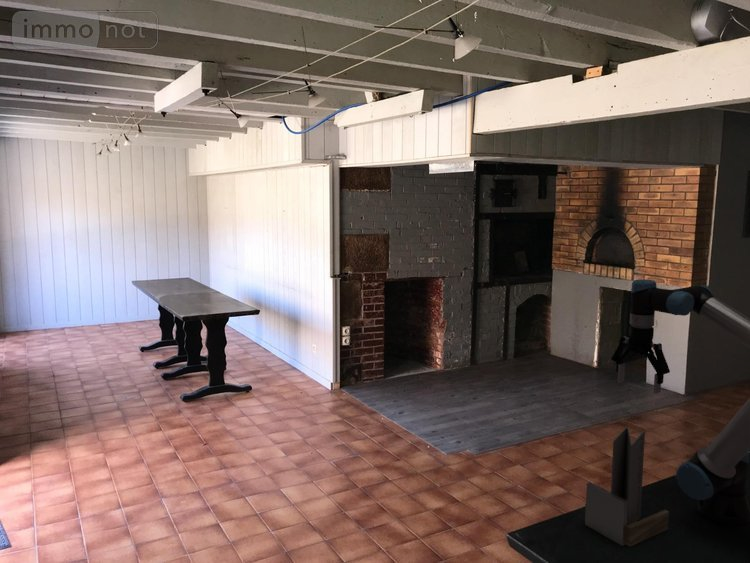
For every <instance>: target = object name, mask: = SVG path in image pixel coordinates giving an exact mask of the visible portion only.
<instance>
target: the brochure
mask: <svg viewBox="0 0 750 563" xmlns="http://www.w3.org/2000/svg"><path fill="white" fill-rule="evenodd" d="M645 436H646V429H643V430H642V432H641V433H640V434H639V435H638V436H637V438H636V439H635V440H634V441H633V442H632V437H631V434H630V429H629V426H628V425H627V426H625V428H624V429H622V431H621V432H620V433H619V434H618V435H617V436H616V437H615V438H614V440H613V442H612V460H611V461H612V464H611V484H610V486H611V487H610V492H611V493H613V494H615V495H617V496H619V497H621V498H623V499H625V500H627V501H628V509H627V526H628V525H630V524H633V523H635V522H637V521H638V520H641V512H642V511H641V509H642V494H643V493H642V491H643V478H644V477H643V476H644V475H643V472H644V460H645V459H644V458H645V457H644V456H645V441H646V440H645V438H646V437H645Z"/></svg>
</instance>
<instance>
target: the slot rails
mask: <svg viewBox="0 0 750 563" xmlns="http://www.w3.org/2000/svg"><path fill="white" fill-rule="evenodd" d="M584 506H585V507H584V508H585V509H584V517H585V516H586V503H585V505H584ZM669 516H670V512H669V511H668V510H667V509H663V510H661V511H658V512H656V513H654V514H651V515H649V516H647V517H644V518H642V519H639V521H637V522H635V523H633V524H630V525H628V526H627V528H626V545H625V546H626V547H627V546H628V547H629V548H631V547H633V546H635V545H638V544H640V543H641V542H644V541H646V540H649V539H650V538H652V537H653V538H654V537H655V536H657V535H659V534H662V533H664V532H666V531H668V529H669V518H670V517H669Z"/></svg>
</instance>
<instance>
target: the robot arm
mask: <svg viewBox="0 0 750 563" xmlns="http://www.w3.org/2000/svg"><path fill="white" fill-rule="evenodd" d="M630 289H631V290H630V311H629V327H628V328H629V330H628V335H624V336H621V337H620V342H619V344H618V346H617V348H616V349H615V351H614V353H613V355H612V357H611V358H610V359H611V361H613V362H615V363H616V366H615V367H616V368H615V369H616V371H615V372H616V373H617V383H618V384H621V383H624V382H625V373H626V363H625V361H626V360H627V359H628V358H629V357H630V356H631V355H632V354H633V353H635V354H640V355H644V356H645V357H646V358H647V360H648V361H649V362H650V365H651V366H652V367H653V369H654V371H655V373H654V377H653V394H659V393H661V392H662V391H661V388H662V384H663V383H664V375H666V374H669V373H671V369H670V368H669V365H668V361H667V360H666V357H665V354H664V351H663V345H662V343H660V342H659V343H654V342H653V339H654V334H655V333H654V332H655V328H654V326H655V316H656V315H655V313H656V312H660V313H663V314H670V315H674V316H682V317H683V316H687V315H690V313H691V312H694V313H695V314H697V315H698V316H700V317H702V318H704V319H705V320H706V321H708V322H710V323H711V324H713V325H714V326H716V327H717V328H718V329H719V330H720V329H721V331H723V332H725V333H726V334H728V335H729V336H731V337H732V338H733V339H735V340H737V341H738V342H740V343H741V344H743V345H744V346H746V347H747V348H749V349H750V317H749V316H746V315H745V314H743V313H742V312H740V311H739V310H737V309H735V308H733V307H732V306H730V305H729V304H728V303H726V302H724V301H722V300H721V299H719V298H717V297H716V296H715V294H714V292H713V291H712V289H711V288H710V287H708V286H707V285H702V284H700V285H699V284H696V285H691V286H686V287H681V288H675V289H667V288H661V287H660V288H659V287H657V282H656V281H655V280H652V279H642V278H641V279H635V280H633V281H632V282H631V288H630ZM627 344H629V347H628V348H626V347H627ZM625 348H626V350H625ZM624 350H625V351H624ZM749 452H750V397H749V398H748V399H747V401H746V402H745V403H744V404H743V405H742V406H741V408H740V409H738V411H737V412H736V414H735V415H734V416H733V417H732V418H731V419H730V420H729V421H728V423H726V425H725V426H724V427H723V429H722V430H721V431H720V432H719V434H717V436H716V437H715V438H714V439H713V440H712V442H710V443H708V445H705V446H701V447H699V448H698V449H697V450H696V451H695V453H694V454H693V455H692V456H691V458H689V459H688V460H687V461H684V462H682V463H681V464H680V465H678V467H677V468H676V471H675V477H676V479H677V484H678V486H679V487H680V489H681V491H683V492H684V493H685V494H686V495H687V496H688V497H689V498H691V499H694V500H697V501H698V502H697V510H698V511H699V513H700V514H701V515H702V516H704V517H705V518H707V519H709V520H711V521H713V522H716V523H719V524H722V525H723V524H724V525H728V526H729V525H730V526H744V525H747V524H749V523H750V504H749V500H748V497H747V491H748V490H747V489H748V481H749V480H748V479H749V470H750V469H749V468H750V454H749Z"/></svg>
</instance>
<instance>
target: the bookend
mask: <svg viewBox="0 0 750 563" xmlns="http://www.w3.org/2000/svg"><path fill="white" fill-rule="evenodd" d="M585 491H586V492H585V493H586V495H585V496H586V497H585V504H586V516H585V515H584V525H585V526H587V527H589V528H590V529H592V530H593V531H595V532H597V533H599V534H601V535H603V536H604V537H606V538H608V539H609V540H611V541H613V542H615V543H616V544H617V545H620V546H621V547H623V546H627V545H626V528H627V509H628V501H627V500H625V499H623V498H621V497H619V496H617V495H615V494H613V493H611V491H609V490H606V489H604V488H602V487H600V486H599V485H596V483H594V482H593V483H592V482H590V481H589V482H586V490H585Z"/></svg>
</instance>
